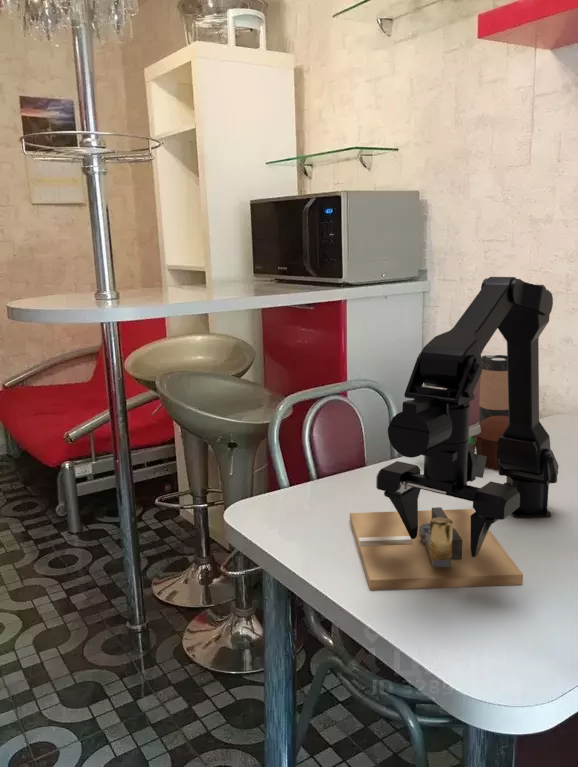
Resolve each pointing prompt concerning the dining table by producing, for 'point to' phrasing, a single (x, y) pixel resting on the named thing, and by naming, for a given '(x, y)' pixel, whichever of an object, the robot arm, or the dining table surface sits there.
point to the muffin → (491, 438)
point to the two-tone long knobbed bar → (438, 540)
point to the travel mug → (494, 387)
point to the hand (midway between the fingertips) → (443, 546)
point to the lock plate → (411, 558)
